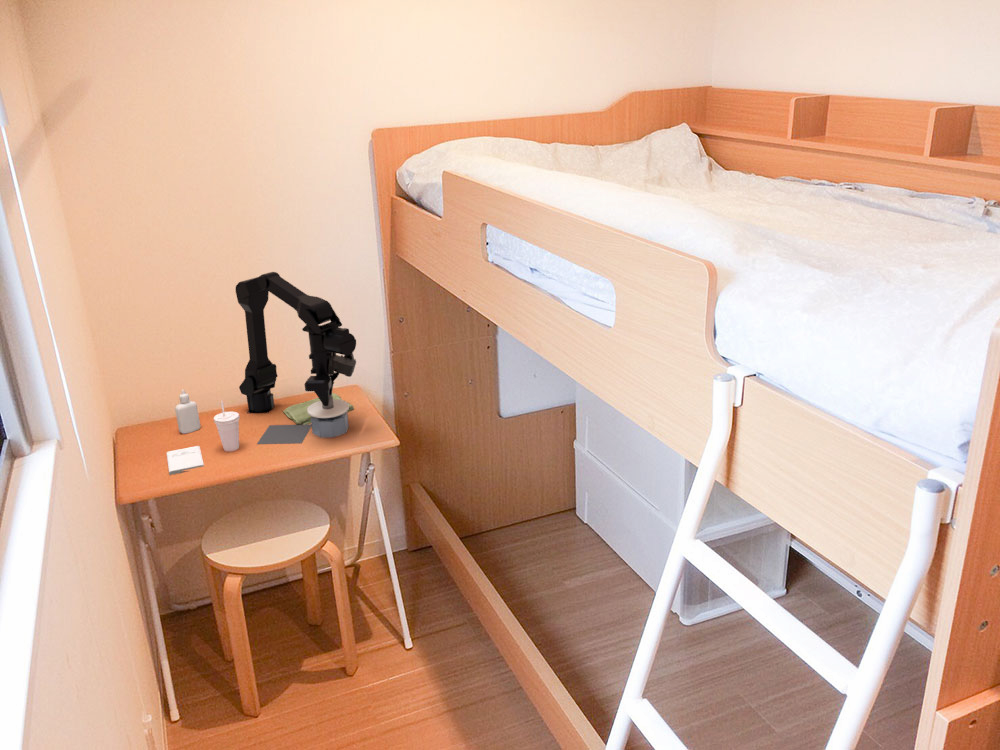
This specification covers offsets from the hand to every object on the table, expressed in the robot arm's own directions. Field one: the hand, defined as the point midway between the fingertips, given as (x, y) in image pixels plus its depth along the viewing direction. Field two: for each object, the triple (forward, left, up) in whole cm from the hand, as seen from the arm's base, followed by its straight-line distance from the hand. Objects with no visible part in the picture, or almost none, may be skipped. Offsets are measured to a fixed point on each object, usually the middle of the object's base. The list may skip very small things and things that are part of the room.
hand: (327, 403), depth 215 cm
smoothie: (-24, -10, -9) cm, 27 cm away
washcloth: (-6, +13, -9) cm, 17 cm away
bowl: (0, 0, -8) cm, 9 cm away
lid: (0, 0, -2) cm, 2 cm away
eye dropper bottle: (-40, +3, -9) cm, 41 cm away
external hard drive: (-34, -16, -9) cm, 39 cm away
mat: (-12, -2, -8) cm, 15 cm away
